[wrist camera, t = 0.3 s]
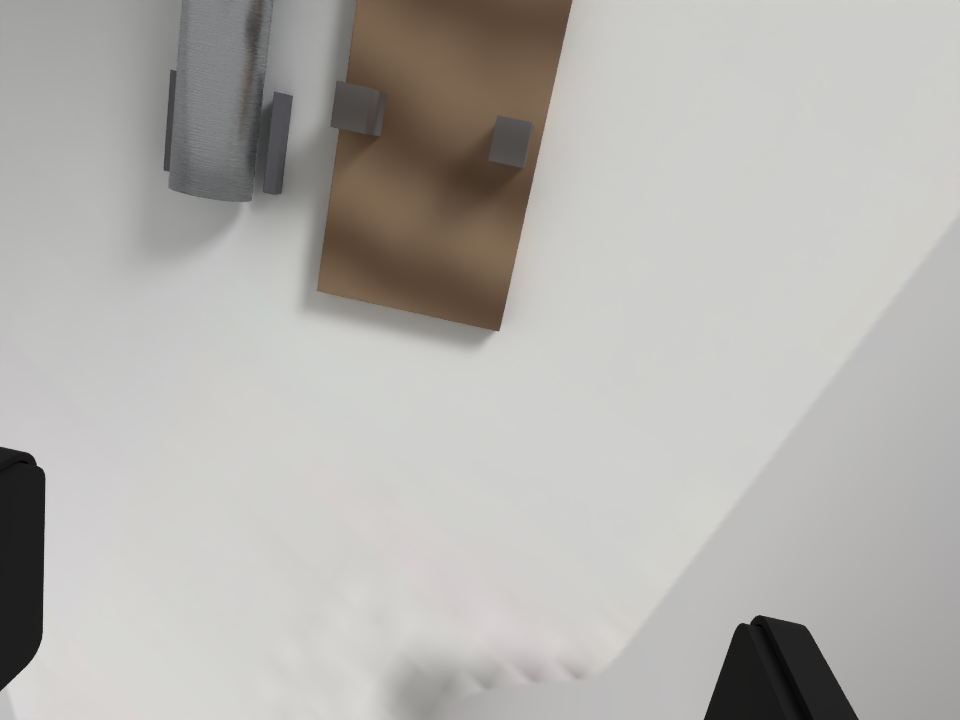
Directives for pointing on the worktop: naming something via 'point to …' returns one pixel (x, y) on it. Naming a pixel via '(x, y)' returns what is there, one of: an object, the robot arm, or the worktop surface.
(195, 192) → the tube
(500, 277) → the brown board
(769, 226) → the worktop surface
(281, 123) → the set of grey slats
